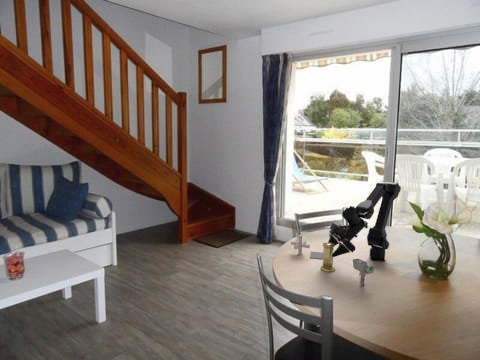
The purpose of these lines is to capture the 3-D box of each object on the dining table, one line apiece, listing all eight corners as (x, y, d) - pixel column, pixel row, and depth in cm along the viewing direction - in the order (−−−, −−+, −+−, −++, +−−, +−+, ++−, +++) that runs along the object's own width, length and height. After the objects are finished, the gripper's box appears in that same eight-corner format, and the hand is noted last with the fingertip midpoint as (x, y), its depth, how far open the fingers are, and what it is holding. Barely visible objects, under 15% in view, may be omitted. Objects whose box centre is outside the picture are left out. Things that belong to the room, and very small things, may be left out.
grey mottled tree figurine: (368, 291, 146) (370, 267, 144) (350, 281, 155) (351, 258, 153) (374, 289, 147) (375, 265, 146) (355, 280, 156) (356, 257, 155)
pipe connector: (304, 259, 180) (304, 239, 179) (286, 254, 186) (287, 235, 185) (313, 253, 188) (313, 234, 187) (296, 249, 194) (296, 231, 193)
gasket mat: (327, 253, 188) (327, 252, 188) (327, 259, 180) (327, 259, 180) (310, 252, 190) (310, 251, 190) (309, 258, 182) (309, 257, 182)
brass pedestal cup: (334, 267, 170) (335, 242, 168) (334, 272, 164) (335, 247, 162) (320, 266, 172) (321, 241, 170) (320, 271, 165) (321, 245, 164)
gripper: (334, 212, 174) (310, 235, 174) (349, 222, 155) (323, 248, 156) (349, 227, 176) (325, 250, 176) (366, 239, 157) (340, 265, 158)
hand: (328, 253), depth 166 cm, fingers open, 9 cm apart
